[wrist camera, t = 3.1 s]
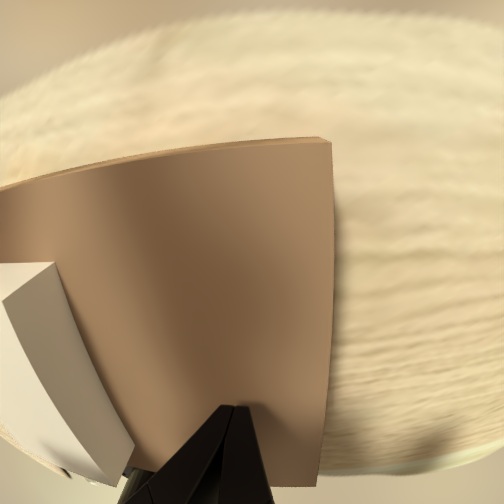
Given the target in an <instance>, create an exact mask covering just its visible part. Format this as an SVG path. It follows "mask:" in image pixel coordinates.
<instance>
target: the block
mask: <svg viewBox="0 0 504 504" xmlns="http://www.w3.org/2000/svg"><path fill="white" fill-rule="evenodd" d="M34 262H55V265H56V268H57V271H58V275H59V278H60V281H61V284H62V287H63V290H64V293H65V296H66V299H67V302H68V304H69V307H70V310H71V313H72V315H73V318H74V321H75V323H76V326H77V328H78V331H79V333H80V336H81V338H82V341H83V343H84V346H85V348H86V350H87V353H88V355H89V357H90V360H91V362H92V364H93V366H94V368H95V371H96V373H97V375H98V377H99V379H100V381H101V383H102V385H103V387H104V389H105V391H106V393H107V395H108V397H109V399H110V401H111V403H112V405H113V407H114V409H115V411H116V413H117V414H118V416H119V418H120V420H121V422H122V423H123V425H124V427H125V429H126V430H127V432H128V434H129V436H130V437H131V439H132V441H133V442H134V444H135V447H134V449H133V451H132V454H131V456H130V458H129V460H128V462H127V466H131V467H135V468H139V469H143V470H148V471H152V472H157V471H158V470H159V469H160V468H161V467H162V466H163V465H164V464H165V463H166V462H167V461H168V460H169V459H170V458H171V457H172V456H173V455H174V454H175V453H176V452H177V451H178V450H179V449H180V448H181V447H182V446H183V444H184V443H185V442H186V441H187V440H188V439H189V438H190V437H191V436H192V435H193V434H194V433H195V432H196V431H197V430H198V428H199V427H200V426H201V425H202V424H203V423H204V422H205V421H206V420H207V419H208V418H209V416H210V415H211V414H212V413H213V412H214V411H215V410H216V409H217V408H218V406H220V405H221V404H226V405H234V406H236V405H246V406H249V407H250V410H251V414H252V418H253V423H254V427H255V431H256V435H257V439H258V443H259V447H260V450H261V454H262V458H263V462H264V466H265V470H266V474H267V477H268V481H269V485H270V486H273V487H315V486H316V482H317V476H318V469H319V462H320V454H321V447H322V439H323V430H324V421H325V412H326V402H327V392H328V380H329V367H330V353H331V337H332V317H333V289H334V191H333V164H332V144H331V142H329V141H327V140H325V139H322V138H320V137H297V138H278V139H264V140H251V141H239V142H229V143H219V144H210V145H202V146H194V147H186V148H179V149H172V150H165V151H158V152H152V153H146V154H140V155H134V156H129V157H123V158H118V159H113V160H108V161H103V162H98V163H93V164H89V165H84V166H80V167H75V168H71V169H67V170H63V171H58V172H54V173H50V174H47V175H43V176H39V177H35V178H32V179H28V180H24V181H21V182H17V183H14V184H11V185H7V186H4V187H1V188H0V263H34Z"/></svg>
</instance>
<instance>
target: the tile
mask: <svg viewBox="0 0 504 504" xmlns="http://www.w3.org/2000/svg"><path fill="white" fill-rule="evenodd" d="M0 423H1V424H2V425H3V426H4V428H5V429H6V430H7V432H8V433H9V434H10V435H11V437H12V438H13V439H14V440H15V442H16V443H17V444H18V445H19V446H20V448H21V449H23V450H25V451H27V452H29V453H31V454H33V455H35V456H37V457H39V458H41V459H43V460H45V461H47V462H50V463H52V464H54V465H56V466H59V467H61V468H63V469H66V470H68V471H71V472H73V473H76V474H78V475H81V476H84V477H86V478H89V479H92V480H95V481H97V482H100V483H103V484H107V485H109V486H113V487H117V484H118V482H119V480H120V478H121V475H122V473H123V471H124V469H125V467H126V465H127V462H128V460H129V458H130V456H131V454H132V451H133V449H134V447H135V444H134V442H133V441H132V439H131V437H130V436H129V434H128V432H127V430H126V429H125V427H124V425H123V423H122V422H121V420H120V418H119V416H118V414H117V413H116V411H115V409H114V407H113V405H112V403H111V401H110V399H109V397H108V395H107V393H106V391H105V389H104V387H103V385H102V383H101V381H100V379H99V377H98V375H97V373H96V371H95V368H94V366H93V364H92V362H91V360H90V357H89V355H88V353H87V350H86V348H85V346H84V343H83V341H82V338H81V336H80V333H79V331H78V328H77V326H76V323H75V321H74V318H73V315H72V313H71V310H70V307H69V304H68V302H67V299H66V296H65V293H64V290H63V287H62V284H61V281H60V278H59V275H58V271H57V268H56V265H55V262H34V263H0Z"/></svg>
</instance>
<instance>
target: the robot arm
mask: <svg viewBox="0 0 504 504" xmlns="http://www.w3.org/2000/svg"><path fill="white" fill-rule="evenodd" d="M122 475H123V476H124V477H126V478H128V480H127V482H126V485H125V487H124V489H123V491H122V494H121V496H120V499H119V501H118V503H117V504H275V503H274V501H273V496H272V492H271V489H270V485H269V481H268V477H267V474H266V470H265V466H264V462H263V458H262V454H261V450H260V447H259V443H258V439H257V435H256V431H255V427H254V423H253V418H252V414H251V410H250V407H249V406H246V405H236V406H234V405H226V404H221V405H220V406H218V408H217V409H216V410H215V411H214V412H213V413H212V414H211V415H210V416H209V418H208V419H207V420H206V421H205V422H204V423H203V424H202V425H201V426H200V427H199V428H198V430H197V431H196V432H195V433H194V434H193V435H192V436H191V437H190V438H189V439H188V440H187V441H186V442H185V443H184V444H183V446H182V447H181V448H180V449H179V450H178V451H177V452H176V453H175V454H174V455H173V456H172V457H171V458H170V459H169V460H168V461H167V462H166V463H165V464H164V465H163V466H162V467H161V468H160V469H159V470H158V471H157V472H152V471H148V470H143V469H139V468H135V467H131V466H127V465H126V467H125V469H124V471H123V473H122Z"/></svg>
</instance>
